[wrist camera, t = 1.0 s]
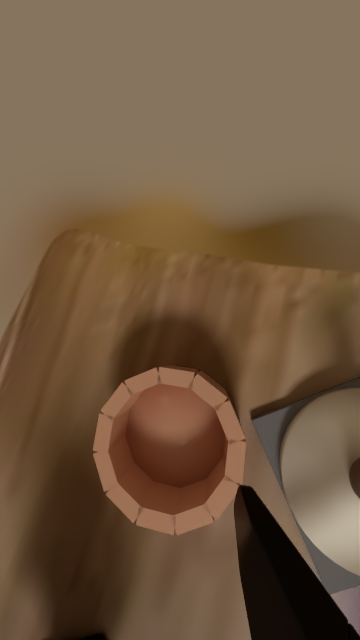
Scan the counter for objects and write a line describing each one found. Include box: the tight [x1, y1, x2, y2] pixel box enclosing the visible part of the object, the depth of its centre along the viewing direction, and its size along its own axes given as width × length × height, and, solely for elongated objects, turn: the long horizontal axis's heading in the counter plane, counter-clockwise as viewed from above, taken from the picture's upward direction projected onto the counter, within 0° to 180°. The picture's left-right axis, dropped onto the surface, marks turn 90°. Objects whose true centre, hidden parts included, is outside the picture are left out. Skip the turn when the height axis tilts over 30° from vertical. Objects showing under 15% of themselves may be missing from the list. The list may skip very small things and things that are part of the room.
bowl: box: [93, 365, 246, 535], centre depth 19 cm, size 11×11×4 cm
